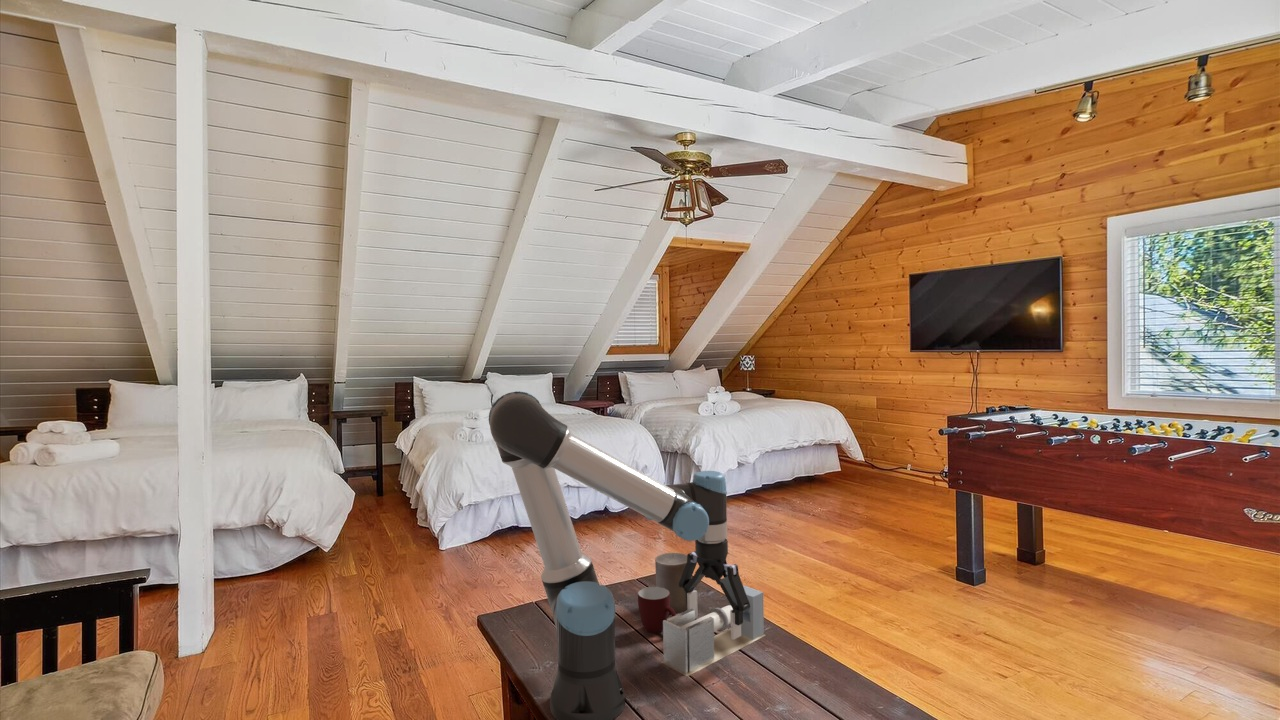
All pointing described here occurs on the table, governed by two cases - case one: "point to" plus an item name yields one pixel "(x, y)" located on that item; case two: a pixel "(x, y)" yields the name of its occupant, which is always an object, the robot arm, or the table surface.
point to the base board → (724, 647)
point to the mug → (654, 608)
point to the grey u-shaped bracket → (688, 642)
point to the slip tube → (716, 618)
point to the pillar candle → (672, 578)
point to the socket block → (753, 614)
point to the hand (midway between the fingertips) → (713, 627)
